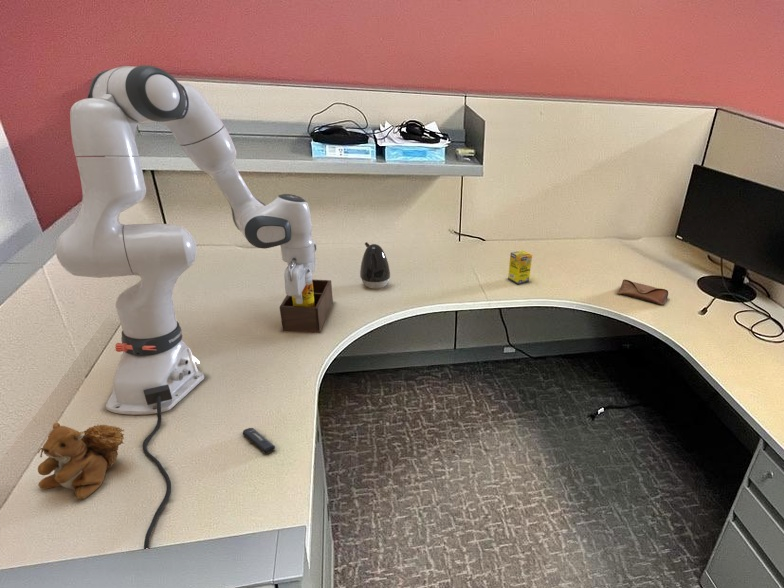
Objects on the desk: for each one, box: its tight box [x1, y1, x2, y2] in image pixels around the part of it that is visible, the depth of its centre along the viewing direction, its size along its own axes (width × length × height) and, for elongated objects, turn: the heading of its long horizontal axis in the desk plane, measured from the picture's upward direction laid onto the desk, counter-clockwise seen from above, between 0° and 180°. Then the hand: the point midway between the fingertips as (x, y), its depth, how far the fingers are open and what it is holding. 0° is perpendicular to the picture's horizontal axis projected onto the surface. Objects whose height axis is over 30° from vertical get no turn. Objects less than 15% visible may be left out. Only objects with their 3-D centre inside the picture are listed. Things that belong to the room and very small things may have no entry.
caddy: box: [279, 278, 334, 334], centre depth 173 cm, size 20×11×8 cm, turn 5°
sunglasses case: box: [616, 278, 669, 306], centre depth 211 cm, size 18×7×7 cm
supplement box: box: [507, 249, 533, 285], centre depth 211 cm, size 6×6×11 cm
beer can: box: [292, 269, 315, 307], centre depth 165 cm, size 6×6×15 cm
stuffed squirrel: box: [37, 422, 125, 500], centre depth 107 cm, size 10×14×13 cm
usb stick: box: [242, 427, 276, 454], centre depth 123 cm, size 10×3×2 cm, turn 51°
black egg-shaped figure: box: [359, 241, 391, 290], centre depth 194 cm, size 10×10×15 cm
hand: (303, 297), depth 166 cm, fingers closed on beer can, 6 cm apart
